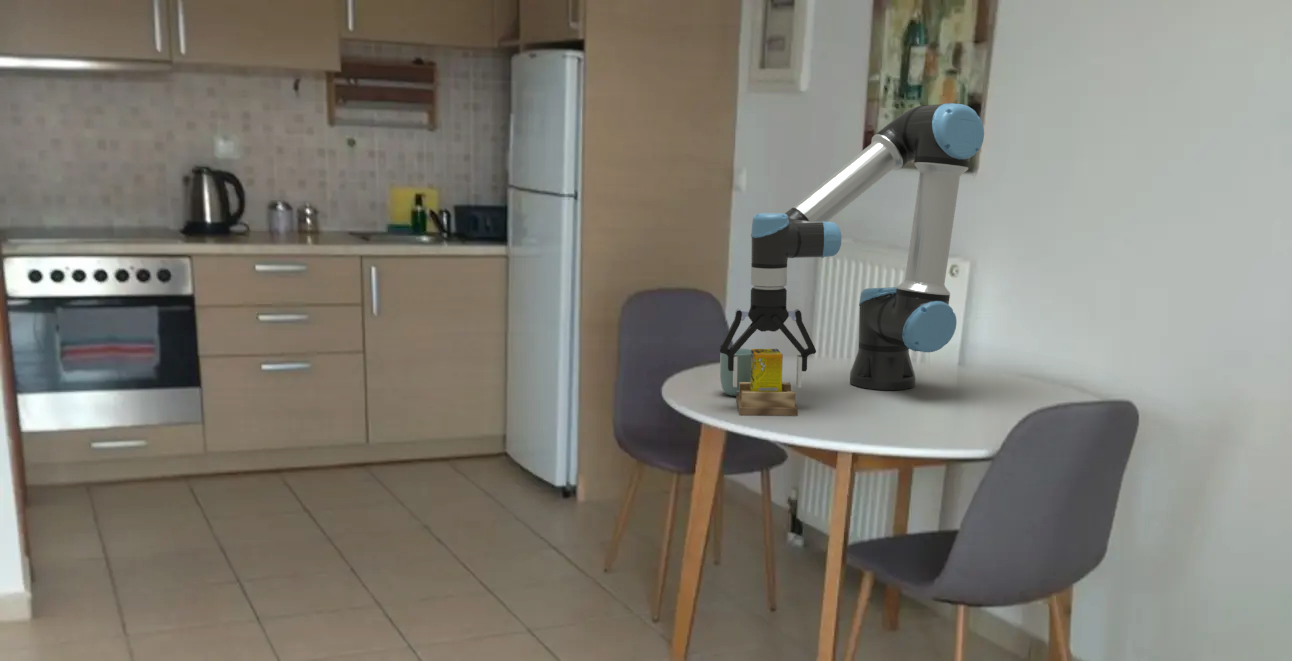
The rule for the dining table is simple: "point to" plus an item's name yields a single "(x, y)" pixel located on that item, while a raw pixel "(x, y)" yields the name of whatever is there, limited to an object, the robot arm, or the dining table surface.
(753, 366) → the supplement box
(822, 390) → the dining table surface
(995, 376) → the dining table surface
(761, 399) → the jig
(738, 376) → the cup
